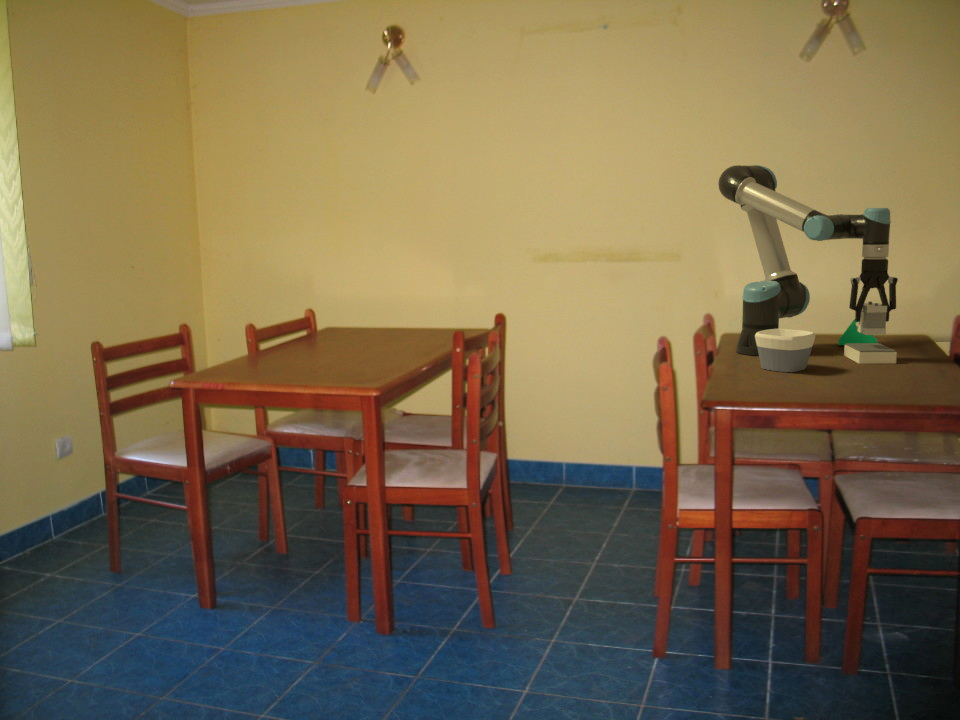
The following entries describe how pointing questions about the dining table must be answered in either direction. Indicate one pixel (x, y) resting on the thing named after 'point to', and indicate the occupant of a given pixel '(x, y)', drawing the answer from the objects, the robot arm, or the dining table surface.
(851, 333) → the camera mount
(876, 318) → the housing
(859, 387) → the dining table surface
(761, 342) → the bowl
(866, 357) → the plinth
